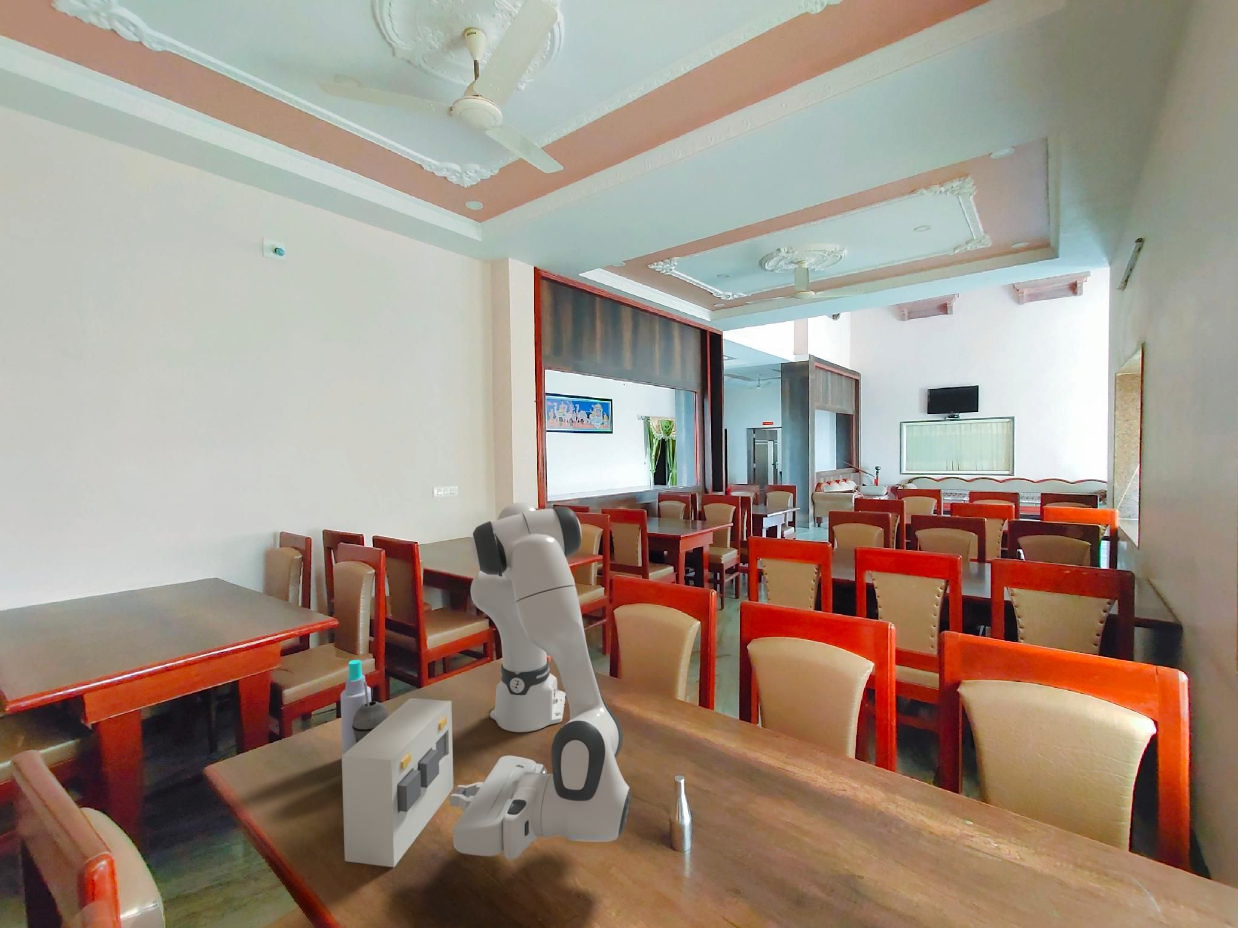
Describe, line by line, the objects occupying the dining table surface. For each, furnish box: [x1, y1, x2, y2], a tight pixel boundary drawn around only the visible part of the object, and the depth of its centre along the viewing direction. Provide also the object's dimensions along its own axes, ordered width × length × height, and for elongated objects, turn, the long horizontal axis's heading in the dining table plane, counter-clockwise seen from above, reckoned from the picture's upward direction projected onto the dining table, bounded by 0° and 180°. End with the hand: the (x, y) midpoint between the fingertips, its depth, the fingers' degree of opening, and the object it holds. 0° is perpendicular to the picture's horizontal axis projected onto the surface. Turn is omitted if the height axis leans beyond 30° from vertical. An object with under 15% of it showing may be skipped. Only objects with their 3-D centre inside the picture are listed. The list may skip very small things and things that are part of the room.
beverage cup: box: [352, 681, 390, 743], centre depth 115 cm, size 7×7×20 cm
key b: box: [436, 734, 446, 760], centre depth 107 cm, size 4×4×4 cm
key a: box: [397, 770, 421, 812], centre depth 94 cm, size 4×4×4 cm
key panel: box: [341, 697, 454, 868], centre depth 101 cm, size 21×9×18 cm, turn 170°
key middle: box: [418, 749, 439, 788], centre depth 100 cm, size 4×4×4 cm
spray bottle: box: [340, 659, 372, 756], centre depth 122 cm, size 6×6×22 cm
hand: (453, 794), depth 93 cm, fingers closed
